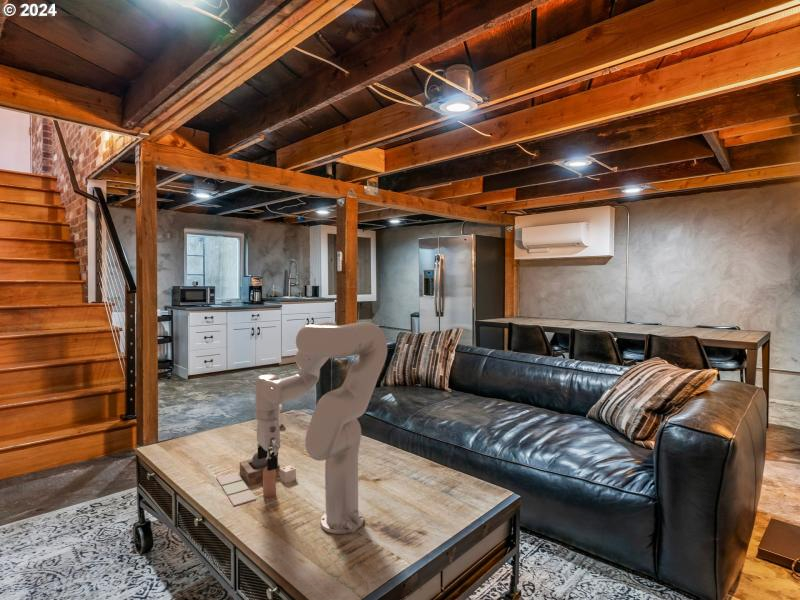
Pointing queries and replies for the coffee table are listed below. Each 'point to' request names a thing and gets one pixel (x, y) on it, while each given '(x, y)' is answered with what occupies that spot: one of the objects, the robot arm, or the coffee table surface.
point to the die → (287, 473)
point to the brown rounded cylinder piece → (269, 483)
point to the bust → (280, 416)
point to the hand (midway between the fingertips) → (267, 463)
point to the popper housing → (253, 472)
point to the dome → (258, 461)
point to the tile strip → (236, 489)
